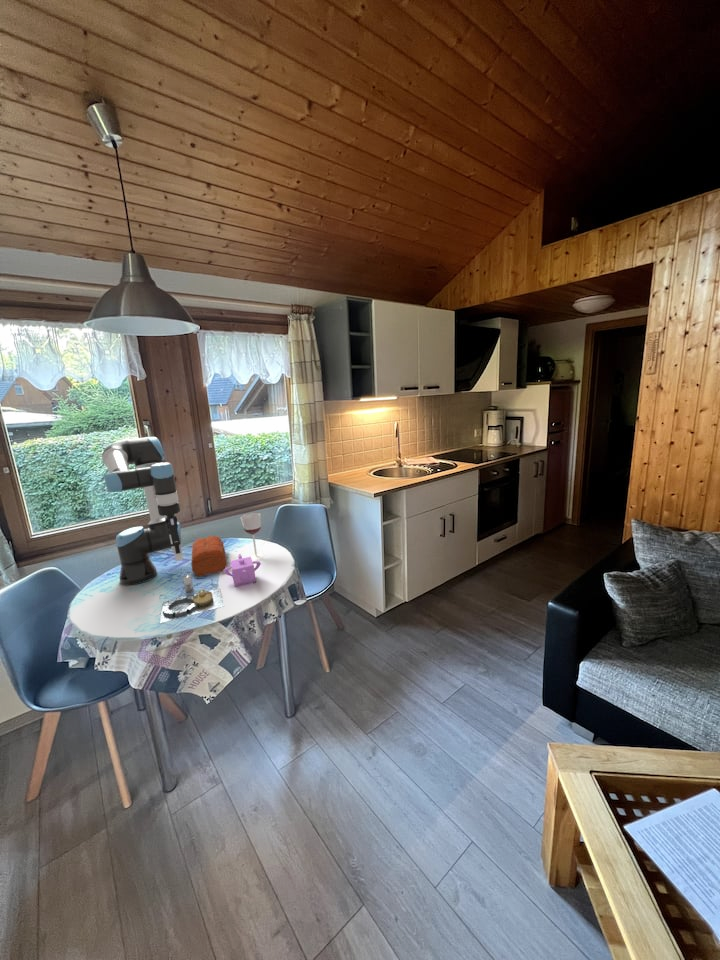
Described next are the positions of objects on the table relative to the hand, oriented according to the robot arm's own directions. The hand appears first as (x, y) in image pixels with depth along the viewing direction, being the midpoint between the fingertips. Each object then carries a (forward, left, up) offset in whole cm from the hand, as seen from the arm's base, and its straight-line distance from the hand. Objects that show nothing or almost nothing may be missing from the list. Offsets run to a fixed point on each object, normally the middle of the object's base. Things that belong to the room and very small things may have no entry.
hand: (177, 554), depth 153 cm
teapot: (-2, +24, -20) cm, 31 cm away
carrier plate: (+9, +3, -20) cm, 22 cm away
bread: (-33, +11, -20) cm, 40 cm away
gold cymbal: (+9, +7, -18) cm, 21 cm away
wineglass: (-27, +33, -20) cm, 47 cm away
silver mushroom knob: (-3, +2, -20) cm, 20 cm away
